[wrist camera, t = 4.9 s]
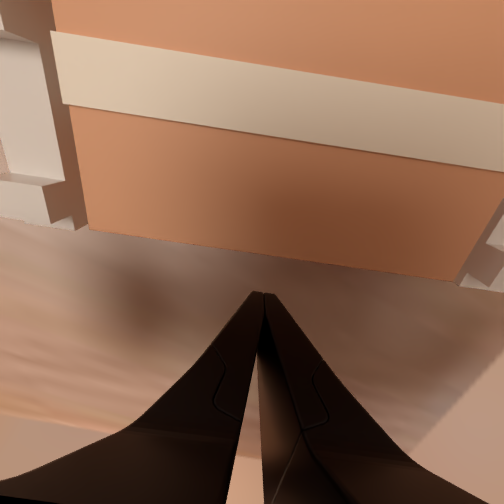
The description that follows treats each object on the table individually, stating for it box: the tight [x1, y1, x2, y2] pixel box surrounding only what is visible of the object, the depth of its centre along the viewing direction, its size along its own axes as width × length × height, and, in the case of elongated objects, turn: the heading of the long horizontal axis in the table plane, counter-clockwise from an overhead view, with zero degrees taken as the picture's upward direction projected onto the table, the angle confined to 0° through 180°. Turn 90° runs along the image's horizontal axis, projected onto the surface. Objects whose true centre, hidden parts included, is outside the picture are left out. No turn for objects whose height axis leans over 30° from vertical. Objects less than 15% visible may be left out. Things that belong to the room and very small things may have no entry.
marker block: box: [50, 0, 504, 282], centre depth 7 cm, size 10×7×4 cm
